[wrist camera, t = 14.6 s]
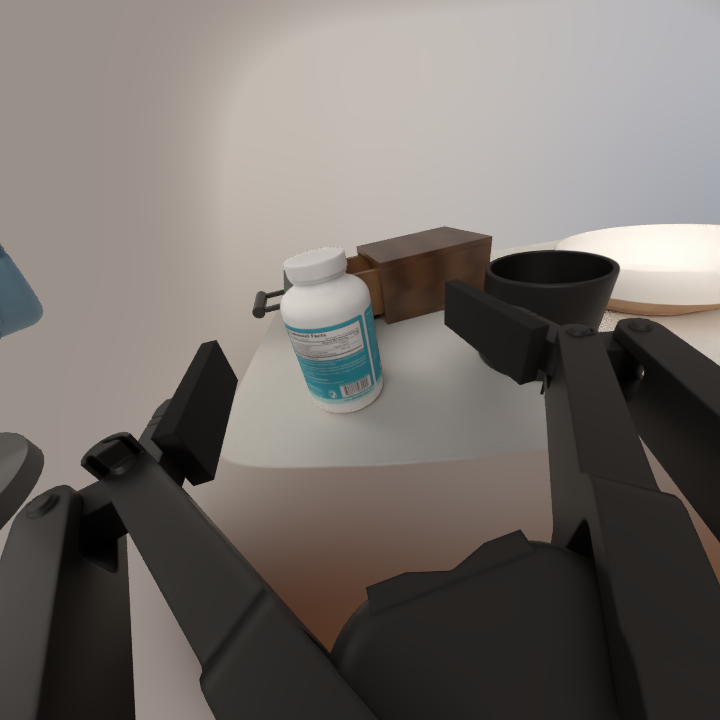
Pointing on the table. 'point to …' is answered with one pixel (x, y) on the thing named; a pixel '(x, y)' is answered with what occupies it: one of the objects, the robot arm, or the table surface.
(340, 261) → the pill bottle
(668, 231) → the bowl
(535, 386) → the table surface
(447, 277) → the cabinet
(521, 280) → the mug
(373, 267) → the drawer
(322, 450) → the table surface
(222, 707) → the robot arm
